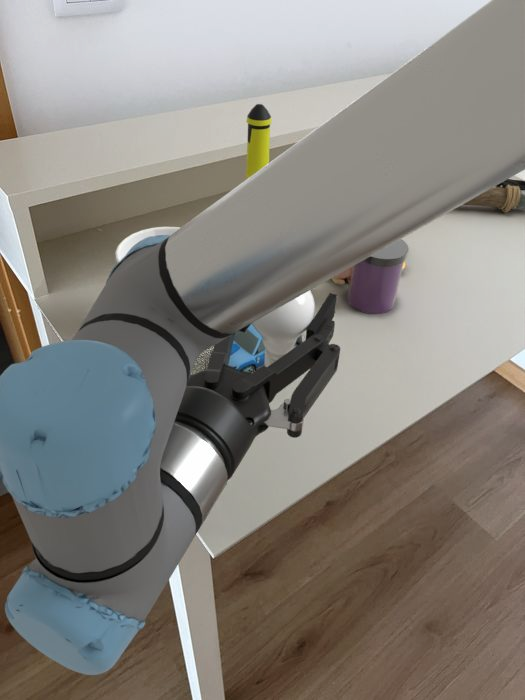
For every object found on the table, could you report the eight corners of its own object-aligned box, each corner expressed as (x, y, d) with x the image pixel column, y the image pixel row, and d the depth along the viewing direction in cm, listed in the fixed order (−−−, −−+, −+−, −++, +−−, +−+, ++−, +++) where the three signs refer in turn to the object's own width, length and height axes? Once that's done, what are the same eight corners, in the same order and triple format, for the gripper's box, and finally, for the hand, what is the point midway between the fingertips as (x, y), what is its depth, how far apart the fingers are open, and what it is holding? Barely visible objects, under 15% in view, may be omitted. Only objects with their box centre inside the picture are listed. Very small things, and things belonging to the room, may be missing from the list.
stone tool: (420, 195, 105) (588, 206, 104) (420, 173, 106) (585, 184, 106) (412, 211, 110) (571, 222, 110) (412, 190, 111) (569, 201, 111)
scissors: (456, 157, 126) (547, 188, 116) (455, 161, 127) (545, 192, 117) (441, 165, 122) (533, 197, 112) (440, 169, 123) (531, 201, 113)
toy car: (204, 364, 74) (203, 329, 70) (277, 330, 79) (280, 295, 76) (232, 391, 70) (232, 355, 66) (306, 352, 76) (310, 318, 72)
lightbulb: (251, 345, 63) (253, 257, 56) (310, 352, 62) (320, 264, 55) (241, 386, 58) (242, 295, 51) (305, 393, 58) (315, 303, 50)
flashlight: (254, 121, 69) (309, 107, 74) (210, 101, 74) (263, 89, 79) (249, 294, 85) (294, 274, 90) (213, 268, 91) (257, 250, 95)
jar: (403, 297, 87) (416, 243, 81) (382, 321, 82) (395, 265, 76) (360, 280, 90) (369, 227, 84) (337, 302, 85) (346, 247, 79)
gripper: (88, 443, 49) (216, 300, 65) (302, 531, 43) (384, 350, 60) (72, 378, 44) (215, 241, 60) (311, 467, 39) (398, 289, 55)
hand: (299, 295), depth 60 cm, fingers closed on lightbulb, 6 cm apart
